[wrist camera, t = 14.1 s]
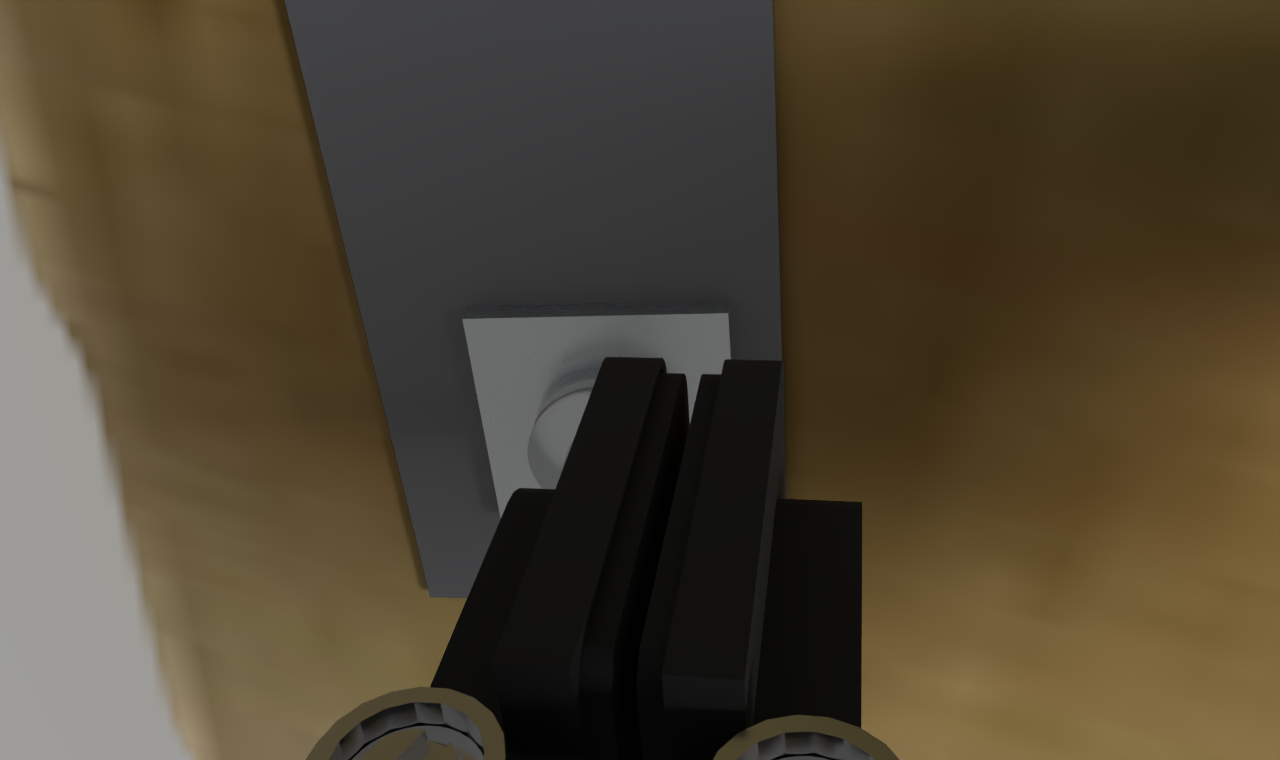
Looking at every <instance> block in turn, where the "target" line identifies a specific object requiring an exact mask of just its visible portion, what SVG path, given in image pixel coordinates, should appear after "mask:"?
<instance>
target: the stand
mask: <svg viewBox="0 0 1280 760" xmlns="http://www.w3.org/2000/svg"><path fill="white" fill-rule="evenodd" d="M462 320H463V325H464V330H465V335H466V341H467V346H468V351H469V356H470V361H471V367H472V372H473V377H474V382H475V388H476V393H477V398H478V403H479V408H480V414H481V419H482V424H483V429H484V434H485V440H486V445H487V450H488V455H489V460H490V466H491V471H492V476H493V481H494V487H495V492H496V497H497V502H498V507H499V513H500V518H501V517H502V515H503V512H504V510H505V507H506V505H507V503H508V501H509V499H510V497H511V496H512V494H513V492H514V491H516V490H517V489H519V488H536V489H556V486H557V484H558V481H559V478H560V475H561V473H562V470H563V467H564V465H565V462H566V459H567V456H568V454H569V451H570V448H571V446H572V443H573V440H574V437H575V435H576V432H577V429H578V427H579V424H580V421H581V419H582V416H583V413H584V410H585V408H586V405H587V402H588V400H589V397H590V394H591V391H592V389H593V386H594V383H595V381H596V378H597V375H598V372H599V370H600V367H601V364H602V362H603V360H604V358H605V357H643V358H663V359H664V361H665V364H666V369H667V373H684V374H685V375H686V379H687V388H688V403H689V420H690V422H691V417H692V413H693V408H694V404H695V400H696V395H697V391H698V386H699V382H700V378H701V375H702V374H721V373H722V368H723V364H724V360H726V359H733V356H732V337H731V318H730V300H714V301H672V302H629V303H586V304H543V305H500V306H469V307H468V309H467V311H466V313H465V315H464V317H463V319H462Z"/></svg>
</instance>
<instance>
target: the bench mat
mask: <svg viewBox="0 0 1280 760" xmlns="http://www.w3.org/2000/svg"><path fill="white" fill-rule="evenodd" d="M284 1H285V5H286V9H287V13H288V17H289V21H290V25H291V29H292V33H293V37H294V42H295V46H296V50H297V54H298V58H299V62H300V66H301V70H302V74H303V78H304V83H305V87H306V91H307V95H308V99H309V103H310V107H311V111H312V115H313V119H314V124H315V128H316V132H317V136H318V140H319V144H320V148H321V152H322V156H323V160H324V165H325V169H326V173H327V177H328V181H329V185H330V189H331V193H332V197H333V201H334V206H335V210H336V214H337V218H338V222H339V226H340V230H341V234H342V238H343V242H344V247H345V251H346V255H347V259H348V263H349V267H350V271H351V275H352V279H353V283H354V288H355V292H356V296H357V300H358V304H359V308H360V312H361V316H362V320H363V324H364V329H365V333H366V337H367V341H368V345H369V349H370V353H371V357H372V361H373V365H374V369H375V374H376V378H377V382H378V386H379V390H380V394H381V398H382V402H383V406H384V410H385V415H386V419H387V423H388V427H389V431H390V435H391V439H392V443H393V447H394V451H395V456H396V460H397V464H398V468H399V472H400V476H401V480H402V484H403V488H404V492H405V497H406V501H407V505H408V509H409V513H410V517H411V521H412V525H413V529H414V533H415V538H416V542H417V546H418V550H419V554H420V558H421V562H422V566H423V570H424V574H425V579H426V583H427V587H428V591H429V595H430V597H451V598H468V596H469V593H470V591H471V588H472V586H473V584H474V581H475V579H476V577H477V574H478V572H479V569H480V567H481V565H482V562H483V560H484V557H485V555H486V553H487V550H488V548H489V546H490V543H491V541H492V538H493V536H494V534H495V531H496V529H497V527H498V524H499V522H500V519H501V518H500V513H499V507H498V502H497V497H496V492H495V487H494V481H493V476H492V471H491V466H490V460H489V455H488V450H487V445H486V440H485V434H484V429H483V424H482V419H481V414H480V408H479V403H478V398H477V393H476V388H475V382H474V377H473V372H472V367H471V361H470V356H469V351H468V346H467V341H466V335H465V330H464V325H463V320H462V319H463V317H464V315H465V313H466V311H467V309H468V307H469V306H500V305H543V304H586V303H629V302H672V301H714V300H730V318H731V337H732V356H733V359H737V360H782V327H781V289H780V251H779V213H778V175H777V137H776V99H775V62H774V24H773V0H284ZM785 499H786V478H785Z"/></svg>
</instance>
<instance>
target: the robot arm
mask: <svg viewBox="0 0 1280 760" xmlns="http://www.w3.org/2000/svg"><path fill="white" fill-rule="evenodd" d="M861 637H862V502H844V501H820V500H797V499H785V388H784V363H783V360H737V359H726V360H724V364H723V368H722V373H721V374H702V375H701V378H700V382H699V386H698V391H697V395H696V400H695V404H694V408H693V413H692V417H691V422H690V420H689V403H688V388H687V379H686V375H685V374H684V373H667V369H666V364H665V361H664V359H663V358H643V357H605V358H604V360H603V362H602V364H601V367H600V370H599V372H598V375H597V378H596V381H595V383H594V386H593V389H592V391H591V394H590V397H589V400H588V402H587V405H586V408H585V410H584V413H583V416H582V419H581V421H580V424H579V427H578V429H577V432H576V435H575V437H574V440H573V443H572V446H571V448H570V451H569V454H568V456H567V459H566V462H565V465H564V467H563V470H562V473H561V475H560V478H559V481H558V484H557V486H556V489H536V488H519V489H517V490H516V491H514V492H513V494H512V496H511V497H510V499H509V501H508V503H507V505H506V507H505V510H504V512H503V515H502V517H501V519H500V522H499V524H498V527H497V529H496V531H495V534H494V536H493V538H492V541H491V543H490V546H489V548H488V550H487V553H486V555H485V557H484V560H483V562H482V565H481V567H480V569H479V572H478V574H477V577H476V579H475V581H474V584H473V586H472V588H471V591H470V593H469V596H468V598H467V600H466V603H465V605H464V608H463V610H462V612H461V615H460V617H459V619H458V622H457V624H456V627H455V629H454V631H453V634H452V636H451V639H450V641H449V643H448V646H447V648H446V650H445V653H444V655H443V658H442V660H441V662H440V665H439V667H438V669H437V672H436V674H435V677H434V679H433V681H432V684H431V686H430V687H417V688H411V689H405V690H399V691H393V692H390V693H387V694H385V695H382V696H380V697H377V698H375V699H372V700H370V701H367V702H365V703H362V704H361V705H359V706H358V707H357V708H355V709H354V710H352V711H351V712H349V713H348V714H346V715H345V716H343V717H342V718H340V719H339V720H337V721H336V722H335V724H334V725H333V726H332V727H331V728H330V729H329V730H328V731H327V732H326V734H325V735H324V736H323V737H322V738H321V739H320V740H319V741H318V742H317V744H316V745H315V747H314V748H313V749H312V751H311V752H310V754H309V755H308V757H307V758H306V760H899V759H898V758H897V756H896V755H895V754H894V753H893V752H892V751H891V750H890V748H889V747H888V746H887V745H886V744H885V743H883V742H882V741H880V740H878V739H877V738H875V737H874V736H872V735H871V734H869V733H868V732H866V731H864V730H863V729H861Z"/></svg>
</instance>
